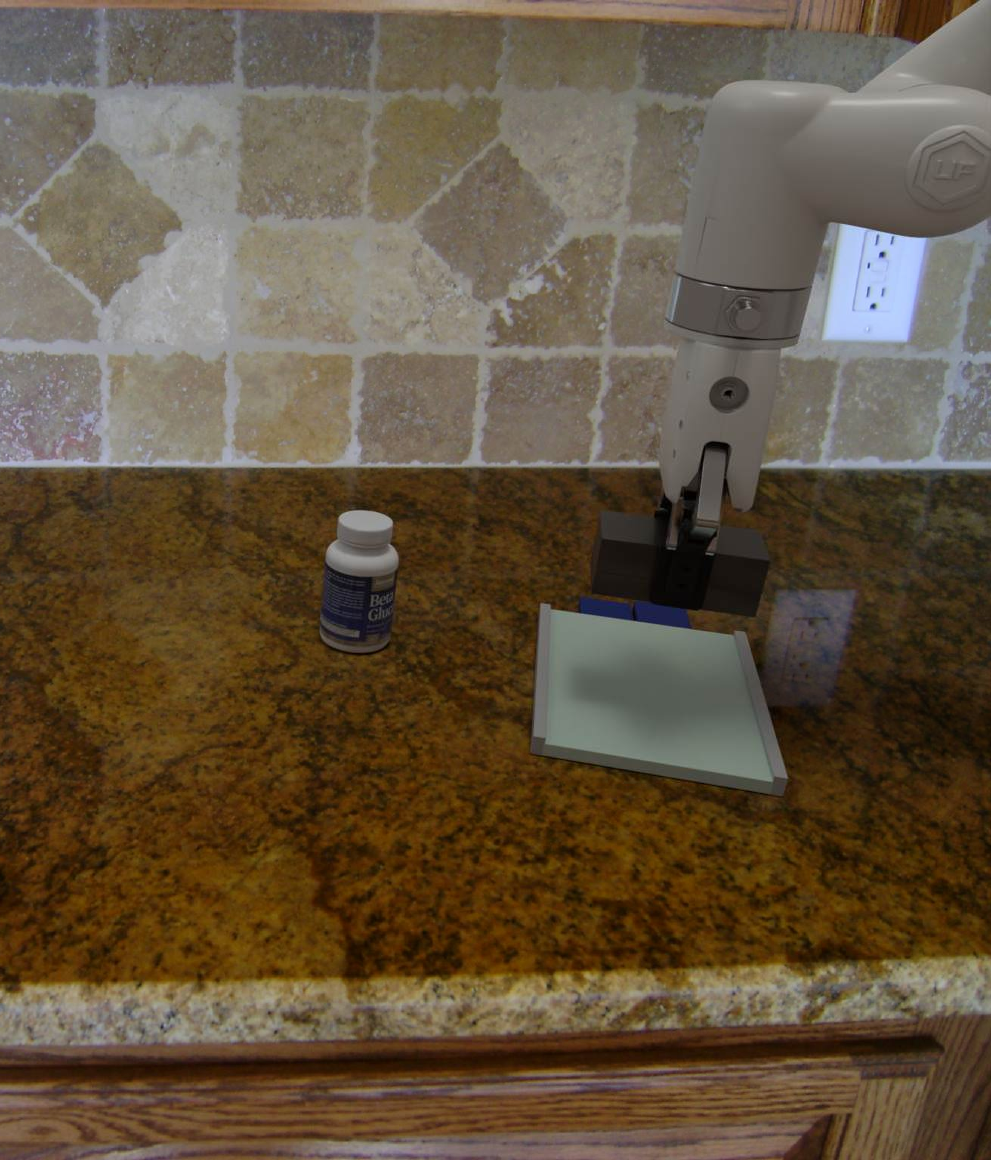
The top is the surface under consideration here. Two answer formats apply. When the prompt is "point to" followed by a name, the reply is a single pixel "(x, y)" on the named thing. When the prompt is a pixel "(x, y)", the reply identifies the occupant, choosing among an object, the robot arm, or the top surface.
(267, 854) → the top surface
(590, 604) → the smudge
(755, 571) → the eraser
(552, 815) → the top surface
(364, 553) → the pill bottle
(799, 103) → the robot arm
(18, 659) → the top surface
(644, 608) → the smudge
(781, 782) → the board
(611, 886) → the top surface
